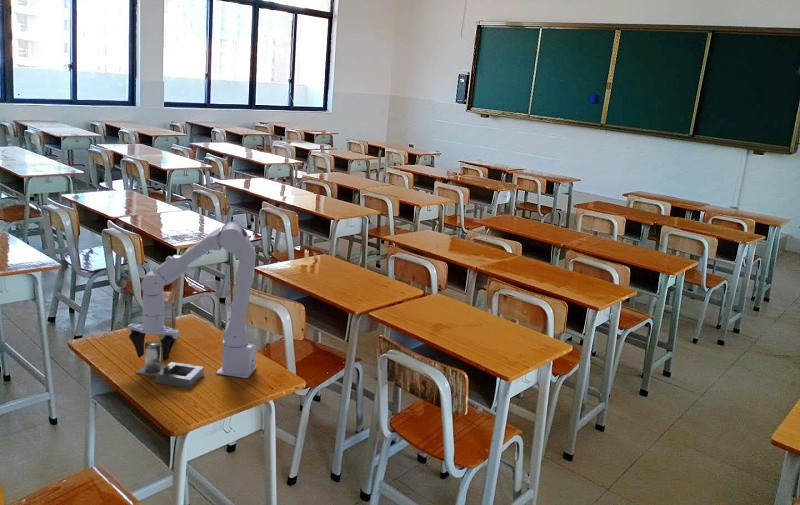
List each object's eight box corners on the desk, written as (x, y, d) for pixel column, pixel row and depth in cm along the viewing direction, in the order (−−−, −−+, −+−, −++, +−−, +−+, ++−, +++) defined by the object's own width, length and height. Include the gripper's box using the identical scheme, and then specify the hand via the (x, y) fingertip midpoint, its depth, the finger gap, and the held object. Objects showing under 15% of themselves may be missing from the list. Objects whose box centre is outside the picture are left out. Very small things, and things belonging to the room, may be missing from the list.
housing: (203, 374, 189) (204, 366, 189) (189, 388, 181) (190, 379, 180) (171, 369, 191) (171, 361, 190) (155, 382, 182) (155, 374, 181)
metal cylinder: (164, 368, 190) (164, 342, 188) (155, 374, 186) (155, 348, 184) (150, 365, 191) (151, 339, 189) (141, 371, 187) (141, 345, 185)
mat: (170, 367, 192) (170, 366, 192) (158, 377, 185) (158, 376, 185) (147, 363, 193) (147, 362, 193) (135, 373, 186) (135, 372, 186)
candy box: (162, 335, 214) (162, 291, 211) (176, 335, 215) (177, 291, 212) (158, 346, 206) (158, 300, 202) (172, 346, 207) (173, 300, 203)
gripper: (184, 312, 188) (183, 356, 191) (136, 305, 190) (136, 349, 193) (172, 320, 181) (172, 365, 184) (123, 313, 183) (123, 358, 186)
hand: (153, 357), depth 188 cm, fingers open, 7 cm apart
